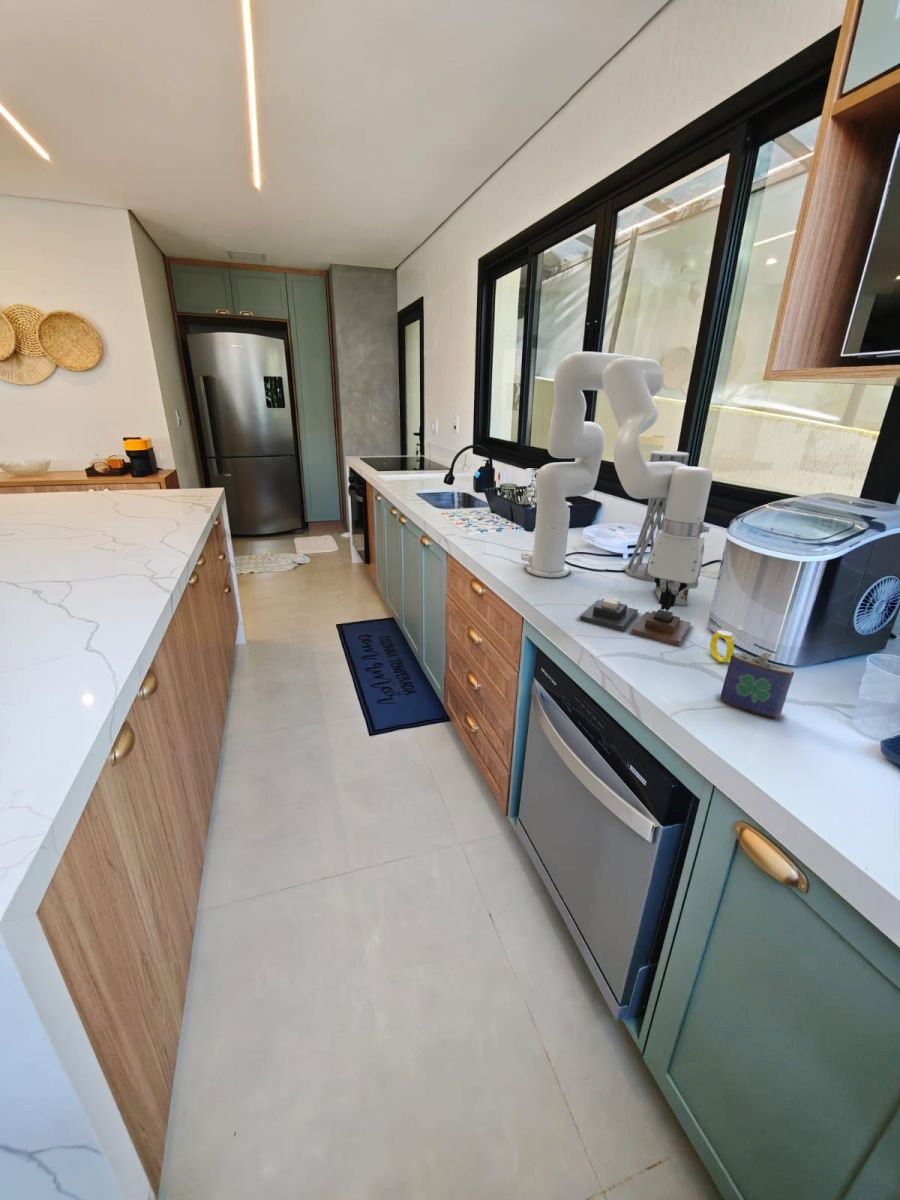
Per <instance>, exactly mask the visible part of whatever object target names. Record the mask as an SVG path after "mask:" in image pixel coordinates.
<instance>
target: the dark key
mask: <svg viewBox="0 0 900 1200" xmlns="http://www.w3.org/2000/svg"><path fill="white" fill-rule="evenodd" d="M673 616H674V612H673V611H670V610H669V611H666V610H665V609H664V610H662V609H661V608H659V609H657V611H656V613H655V618H654V620H658V621H662V622H667V623H670V622H671V620H672V617H673Z"/></svg>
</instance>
